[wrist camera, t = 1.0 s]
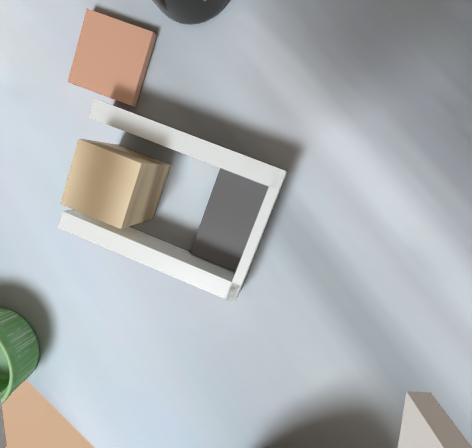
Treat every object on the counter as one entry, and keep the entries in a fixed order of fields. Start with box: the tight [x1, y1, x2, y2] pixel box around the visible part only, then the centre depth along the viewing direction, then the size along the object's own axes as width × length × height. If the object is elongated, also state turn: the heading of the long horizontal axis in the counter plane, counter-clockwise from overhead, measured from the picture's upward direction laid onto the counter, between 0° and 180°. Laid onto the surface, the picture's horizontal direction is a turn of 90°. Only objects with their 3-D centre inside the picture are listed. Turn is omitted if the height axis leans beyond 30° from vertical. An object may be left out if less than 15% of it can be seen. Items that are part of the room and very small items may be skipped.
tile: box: [68, 9, 157, 107], centre depth 30 cm, size 6×6×1 cm
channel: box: [58, 99, 288, 303], centre depth 30 cm, size 16×11×3 cm
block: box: [61, 139, 171, 229], centre depth 29 cm, size 5×5×6 cm
